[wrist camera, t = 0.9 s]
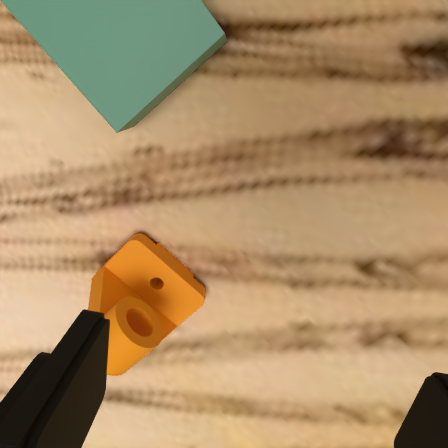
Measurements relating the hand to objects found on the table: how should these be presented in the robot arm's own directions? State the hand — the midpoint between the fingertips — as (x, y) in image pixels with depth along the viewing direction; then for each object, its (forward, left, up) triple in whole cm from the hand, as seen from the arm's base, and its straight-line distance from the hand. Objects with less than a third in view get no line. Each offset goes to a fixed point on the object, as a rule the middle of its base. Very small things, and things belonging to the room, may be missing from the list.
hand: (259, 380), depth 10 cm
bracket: (+16, +3, -28) cm, 33 cm away
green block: (0, -17, -28) cm, 32 cm away
